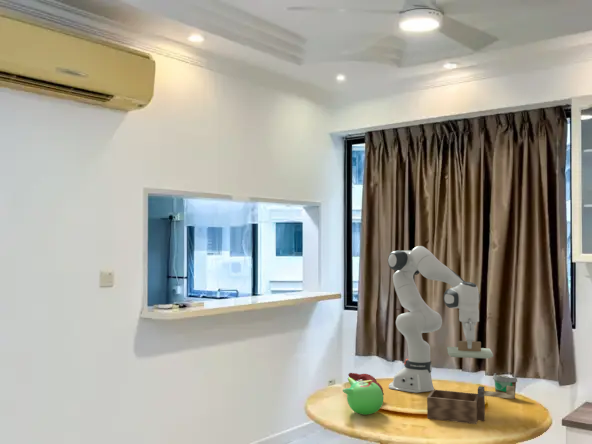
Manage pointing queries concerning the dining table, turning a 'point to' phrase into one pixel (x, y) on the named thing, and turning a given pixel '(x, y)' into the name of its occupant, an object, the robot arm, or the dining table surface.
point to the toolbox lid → (469, 350)
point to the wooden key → (509, 393)
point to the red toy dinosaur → (364, 378)
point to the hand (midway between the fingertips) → (469, 347)
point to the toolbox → (456, 406)
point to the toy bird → (364, 396)
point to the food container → (503, 382)
